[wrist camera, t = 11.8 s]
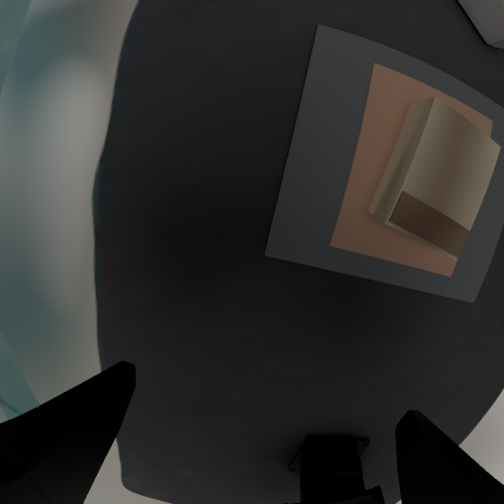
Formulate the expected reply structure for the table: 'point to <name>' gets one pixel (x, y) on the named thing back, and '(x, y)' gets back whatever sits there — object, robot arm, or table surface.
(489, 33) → the grey rounded block
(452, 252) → the tan beveled box
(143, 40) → the table surface
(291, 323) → the table surface
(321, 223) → the rubber mat
